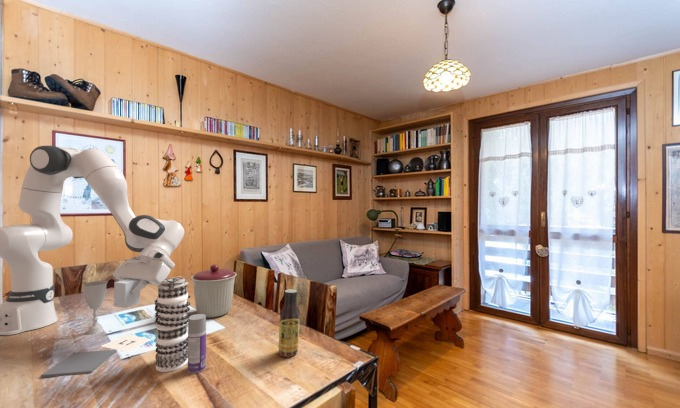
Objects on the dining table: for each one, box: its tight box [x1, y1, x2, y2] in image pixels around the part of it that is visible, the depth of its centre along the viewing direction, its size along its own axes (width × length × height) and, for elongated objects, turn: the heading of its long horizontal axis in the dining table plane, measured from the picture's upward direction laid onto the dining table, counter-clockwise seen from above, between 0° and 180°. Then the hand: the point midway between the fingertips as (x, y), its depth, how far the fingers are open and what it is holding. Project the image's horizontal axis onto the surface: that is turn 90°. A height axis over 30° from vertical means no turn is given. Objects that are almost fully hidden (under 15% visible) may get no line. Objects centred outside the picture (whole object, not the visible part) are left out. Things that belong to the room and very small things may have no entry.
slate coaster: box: [40, 349, 118, 379], centre depth 86 cm, size 12×12×1 cm
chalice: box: [82, 280, 109, 336], centre depth 107 cm, size 7×7×18 cm
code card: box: [101, 334, 153, 353], centre depth 98 cm, size 12×9×1 cm
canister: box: [190, 264, 237, 319], centre depth 126 cm, size 18×18×21 cm
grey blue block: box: [113, 279, 141, 309], centre depth 99 cm, size 5×5×8 cm
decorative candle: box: [154, 276, 191, 373], centre depth 86 cm, size 9×9×25 cm
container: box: [187, 313, 207, 375], centre depth 83 cm, size 5×5×15 cm
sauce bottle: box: [278, 288, 300, 358], centre depth 93 cm, size 7×6×20 cm
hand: (125, 292), depth 98 cm, fingers closed on grey blue block, 5 cm apart
